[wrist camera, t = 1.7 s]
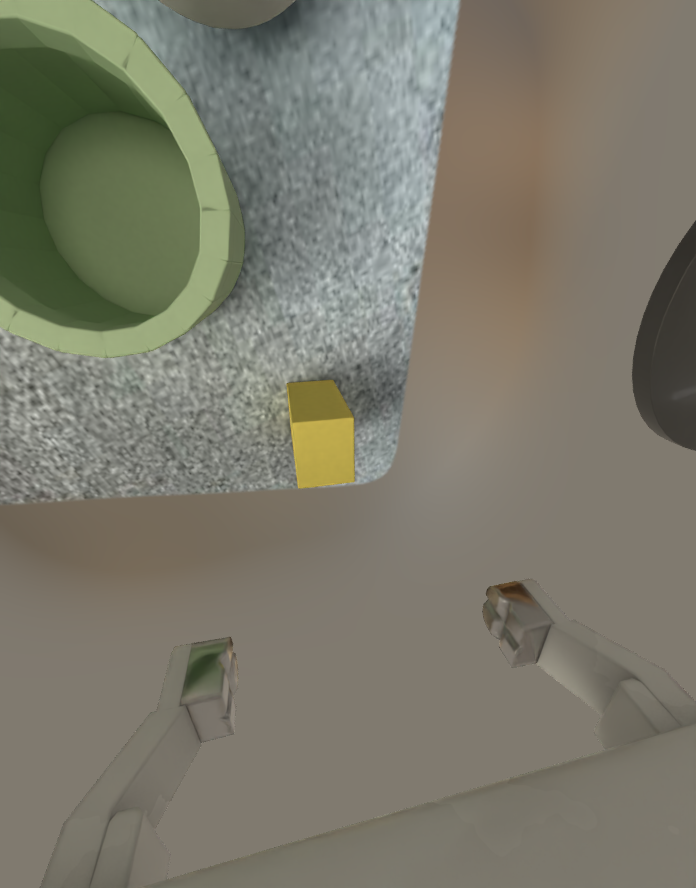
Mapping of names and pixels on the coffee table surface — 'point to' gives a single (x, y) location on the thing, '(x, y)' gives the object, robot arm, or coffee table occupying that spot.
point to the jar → (105, 188)
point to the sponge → (321, 434)
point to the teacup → (229, 11)
